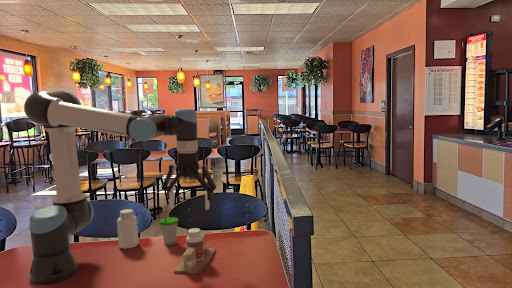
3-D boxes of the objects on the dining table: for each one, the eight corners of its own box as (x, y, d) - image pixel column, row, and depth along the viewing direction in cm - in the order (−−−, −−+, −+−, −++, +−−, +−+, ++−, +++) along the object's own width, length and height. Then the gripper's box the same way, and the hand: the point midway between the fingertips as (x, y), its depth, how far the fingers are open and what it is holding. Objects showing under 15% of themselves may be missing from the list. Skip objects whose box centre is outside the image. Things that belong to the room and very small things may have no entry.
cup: (174, 238, 169) (172, 205, 167) (183, 243, 163) (181, 209, 161) (157, 243, 164) (155, 209, 162) (166, 248, 158) (163, 213, 156)
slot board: (174, 273, 136) (172, 254, 135) (191, 250, 156) (190, 233, 155) (201, 274, 135) (200, 254, 134) (215, 250, 154) (214, 233, 153)
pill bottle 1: (142, 243, 164) (140, 209, 162) (127, 250, 157) (124, 215, 155) (130, 240, 168) (127, 207, 166) (114, 247, 161) (111, 212, 159)
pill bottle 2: (206, 259, 144) (205, 230, 143) (191, 263, 141) (190, 234, 139) (199, 253, 149) (198, 226, 148) (184, 258, 146) (183, 229, 144)
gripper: (150, 153, 139) (153, 210, 142) (218, 153, 135) (220, 212, 138) (158, 149, 146) (161, 204, 149) (223, 150, 143) (224, 206, 145)
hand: (189, 208), depth 144 cm, fingers open, 13 cm apart
